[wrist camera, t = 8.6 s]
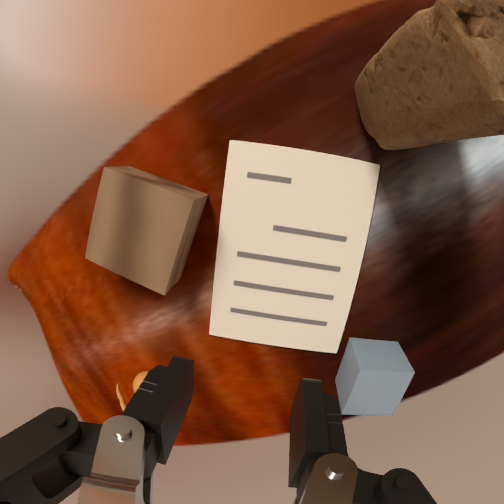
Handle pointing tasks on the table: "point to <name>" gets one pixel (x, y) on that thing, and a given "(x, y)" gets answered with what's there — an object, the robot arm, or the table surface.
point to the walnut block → (143, 226)
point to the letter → (290, 245)
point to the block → (437, 77)
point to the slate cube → (372, 377)
